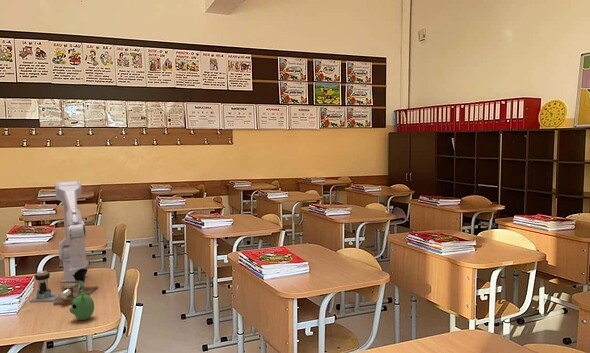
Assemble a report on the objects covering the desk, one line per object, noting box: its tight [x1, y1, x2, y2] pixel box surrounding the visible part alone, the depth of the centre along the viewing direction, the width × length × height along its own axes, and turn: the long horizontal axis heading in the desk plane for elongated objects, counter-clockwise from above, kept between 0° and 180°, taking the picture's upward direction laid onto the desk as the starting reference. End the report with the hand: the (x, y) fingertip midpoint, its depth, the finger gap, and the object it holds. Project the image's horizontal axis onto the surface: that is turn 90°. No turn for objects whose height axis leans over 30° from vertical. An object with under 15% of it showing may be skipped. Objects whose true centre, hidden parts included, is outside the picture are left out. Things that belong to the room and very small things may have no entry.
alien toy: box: [69, 290, 95, 321], centre depth 164 cm, size 7×8×10 cm
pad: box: [29, 293, 60, 303], centre depth 188 cm, size 7×9×1 cm
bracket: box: [52, 283, 99, 306], centre depth 189 cm, size 19×9×6 cm, turn 1°
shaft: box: [58, 279, 85, 299], centre depth 184 cm, size 15×4×4 cm, turn 1°
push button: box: [34, 270, 56, 299], centre depth 187 cm, size 7×5×10 cm
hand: (80, 287), depth 193 cm, fingers closed, pressing on shaft
